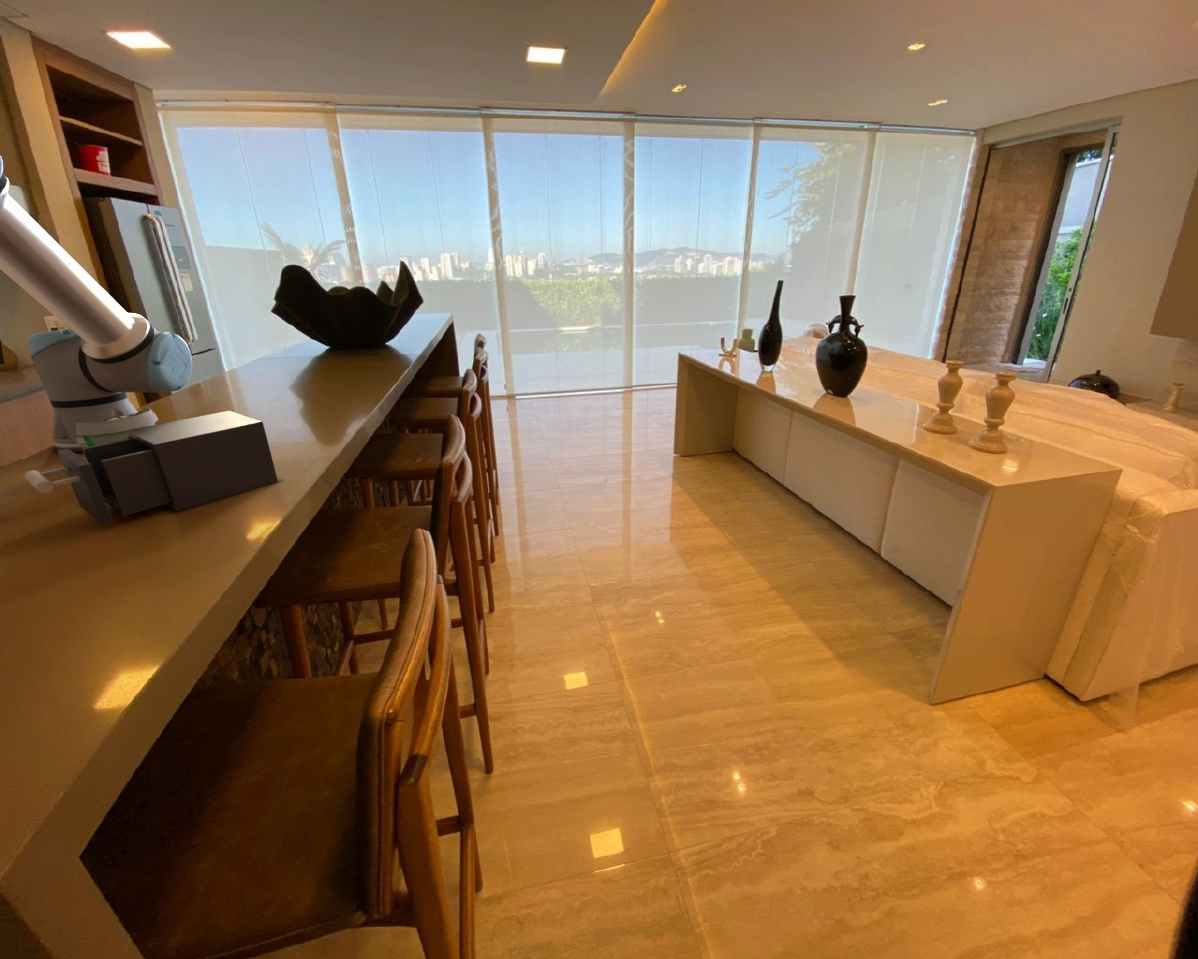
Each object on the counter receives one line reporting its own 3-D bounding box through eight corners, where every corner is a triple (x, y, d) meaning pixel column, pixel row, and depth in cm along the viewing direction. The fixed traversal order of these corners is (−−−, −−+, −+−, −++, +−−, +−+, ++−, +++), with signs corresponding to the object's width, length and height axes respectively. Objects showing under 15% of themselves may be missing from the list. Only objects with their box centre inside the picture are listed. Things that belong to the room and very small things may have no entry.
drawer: (60, 538, 70) (33, 476, 66) (40, 516, 76) (14, 459, 72) (213, 493, 83) (197, 440, 80) (185, 478, 89) (169, 428, 86)
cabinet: (176, 511, 79) (154, 444, 75) (147, 493, 86) (125, 430, 82) (278, 481, 90) (262, 421, 86) (245, 466, 97) (229, 410, 93)
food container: (122, 481, 91) (101, 425, 87) (94, 479, 92) (72, 423, 88) (187, 457, 102) (171, 407, 98) (161, 455, 103) (144, 405, 99)
